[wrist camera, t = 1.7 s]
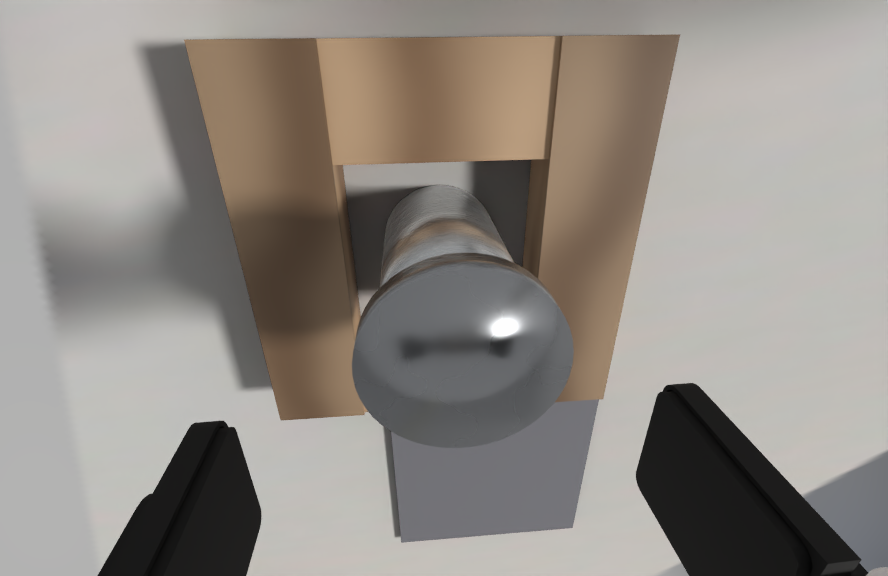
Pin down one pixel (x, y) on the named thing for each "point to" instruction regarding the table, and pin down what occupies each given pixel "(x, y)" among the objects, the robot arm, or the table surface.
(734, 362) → the table surface
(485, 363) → the grey light bulb
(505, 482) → the mat
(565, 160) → the wooden square frame
